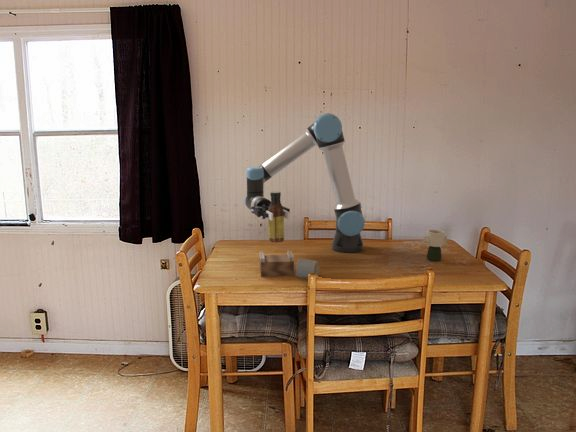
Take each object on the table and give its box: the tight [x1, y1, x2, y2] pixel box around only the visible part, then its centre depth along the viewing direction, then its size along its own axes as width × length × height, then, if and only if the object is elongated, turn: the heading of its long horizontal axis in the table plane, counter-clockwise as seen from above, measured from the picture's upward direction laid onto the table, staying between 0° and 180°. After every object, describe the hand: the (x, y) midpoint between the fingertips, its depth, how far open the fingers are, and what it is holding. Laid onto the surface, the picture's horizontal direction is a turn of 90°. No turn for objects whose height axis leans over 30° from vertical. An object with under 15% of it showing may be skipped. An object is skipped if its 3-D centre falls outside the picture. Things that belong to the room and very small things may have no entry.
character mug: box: [422, 229, 448, 261], centre depth 214 cm, size 11×7×13 cm, turn 98°
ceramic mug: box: [295, 257, 321, 280], centre depth 191 cm, size 11×8×8 cm
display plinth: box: [259, 250, 295, 278], centre depth 196 cm, size 13×10×8 cm
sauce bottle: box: [267, 190, 285, 243], centre depth 193 cm, size 6×6×20 cm
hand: (280, 216), depth 188 cm, fingers closed on sauce bottle, 6 cm apart
